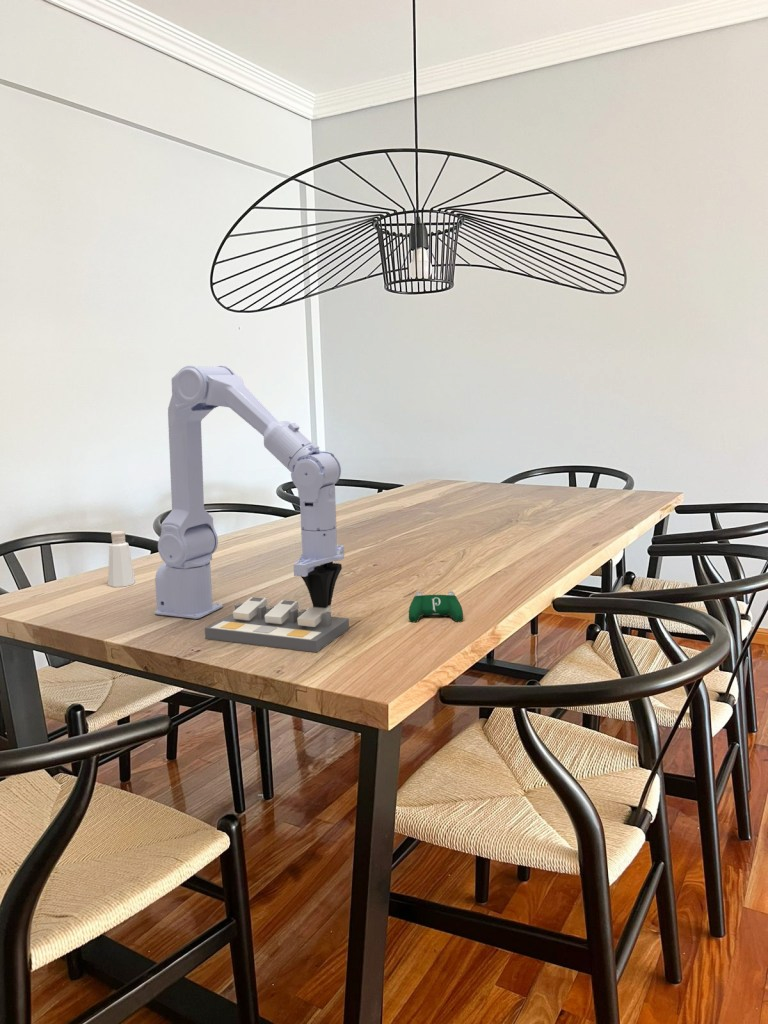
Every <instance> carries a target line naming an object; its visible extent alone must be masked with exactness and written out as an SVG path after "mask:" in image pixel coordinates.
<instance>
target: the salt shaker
mask: <svg viewBox="0 0 768 1024" xmlns="http://www.w3.org/2000/svg"><path fill="white" fill-rule="evenodd" d="M110 535H111V536H110V537H111V542H112V543H110V544H109V546H108V547H109V549H108V571H107V576H108V577H107V578H108V580H107V585H108V586H109V587H112V588H123V587H124V588H125V587H130V586H133V585H134V584H135V583H136V578H135V571H134V567H133V566H134V565H133V562H132V561H133V560H132V555H131V550H130V545H129V542H126V531H124V530H115V531H112V532H111V533H110Z"/></svg>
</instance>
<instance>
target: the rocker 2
mask: <svg viewBox="0 0 768 1024" xmlns="http://www.w3.org/2000/svg"><path fill="white" fill-rule="evenodd" d="M299 608H300V607H299V601H296V600H287V599H281V600H280V601H279V602H278V603H276V605H275V606H274V608H272V609H271V610H270V611H269V612H268V613H267V614H266V615H265V622H267V623H276V624H282V623H283V622H284V621H285V620H287V619H288V618H289V617H290V615H289V611H290V610H292V609H298V610H299Z"/></svg>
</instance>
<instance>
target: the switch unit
mask: <svg viewBox="0 0 768 1024" xmlns="http://www.w3.org/2000/svg"><path fill="white" fill-rule="evenodd" d="M243 603H244V602H239V603H236V604H234V611H235V610H236V609H237V608H238V607H240V606H241V605H242V604H243ZM274 607H275V606H273V605H272V606H271V605H270V606H268V607H267V606H265V605H262V606H260V607H258V608H257V611H258V613H257V614H256V615H255V616H254V617H253V618H252V619H251V620H240V619H234V617H233V613H231V614H229V615H226V616H225V617H224V618H222V619H220V620H217V621H216V622H214V623H212V624H210V625H208V626H206V627H204V637H205V639H206V640H214V641H222V642H228V643H229V642H230V643H237V644H244V645H245V644H246V645H255V646H261V647H269V648H277V649H278V648H279V649H284V650H285V649H287V650H293V651H301V652H308V653H309V652H310V653H318V652H319V651H320V650H322V649H323V648H325V647H326V646H327V645H329V644H330V643H332V642H333V641H335V640H336V639H337V638H338V637H340V636H341V635H343V634H344V633H345V632H347V631H348V630H349V629H350V619H349V618H347V617H337V616H332V611H331V612H326V613H324V614H323V615H322V616H323V620H322V621H321V622H320V623H319V624H318V625H317V626H315V627H310V626H301V625H298V620H297V618H298V617H299V616H300V615H302V614H303V613H304V612H305V611H306V610H307V609H304V608H303V609H300V610H299V608H298V609H292V610H290V611H289V615H290V617H289V618H288V619H287V620H285V621H284V622H283V623H282V624H276V623H267V622H265V615H266V614H267V613H268V612H269V611H270V610H271V609H272V608H274Z"/></svg>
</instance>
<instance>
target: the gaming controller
mask: <svg viewBox="0 0 768 1024" xmlns="http://www.w3.org/2000/svg"><path fill="white" fill-rule="evenodd" d="M463 611H464V610H463V608H462V605H461V603H460V601H459V600H458V598H457V596H456V594H455V592H454V591H452V590H449V591H448V592H447V594H424V595H423V592H422V591H417V592H416V593H415V594H414V596H413V599H412V600H411V602H410V605H409V609H408V619H409V622H411V623H416V622H418V621H419V620H420V619H421V617H422V616H425V617H430V616H441V617H446V616H448V615H449V616H450V617H451V618H452V620H453V621H454V622H457V621H461V622H462V621H463V620H464V613H463Z"/></svg>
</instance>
